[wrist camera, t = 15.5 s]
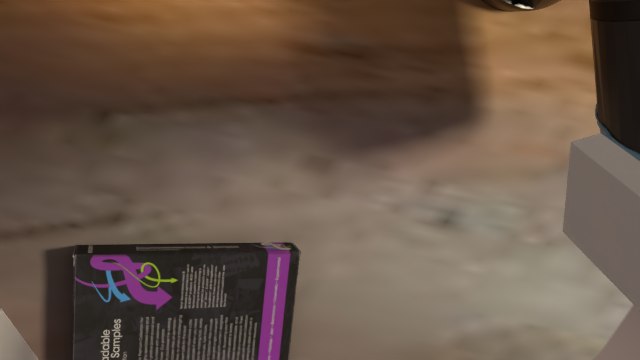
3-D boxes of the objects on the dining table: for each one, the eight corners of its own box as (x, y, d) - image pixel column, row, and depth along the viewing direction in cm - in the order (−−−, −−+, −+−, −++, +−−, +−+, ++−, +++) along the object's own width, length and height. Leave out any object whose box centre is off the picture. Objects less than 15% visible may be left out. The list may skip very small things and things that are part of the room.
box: (291, 239, 55) (74, 239, 48) (303, 251, 52) (72, 254, 45) (276, 368, 58) (69, 387, 51) (287, 387, 55) (67, 410, 48)
